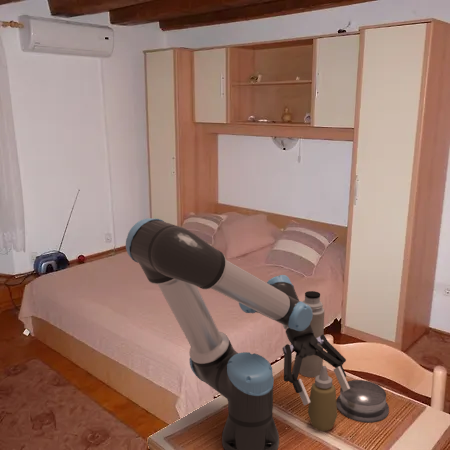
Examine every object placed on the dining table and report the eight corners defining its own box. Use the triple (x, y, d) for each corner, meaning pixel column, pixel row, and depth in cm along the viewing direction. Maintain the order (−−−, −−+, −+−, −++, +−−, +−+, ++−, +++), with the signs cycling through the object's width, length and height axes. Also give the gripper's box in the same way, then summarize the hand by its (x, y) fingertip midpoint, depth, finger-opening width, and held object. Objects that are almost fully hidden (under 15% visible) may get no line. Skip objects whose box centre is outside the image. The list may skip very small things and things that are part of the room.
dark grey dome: (340, 422, 138) (341, 406, 137) (332, 392, 153) (333, 377, 152) (395, 423, 138) (396, 407, 136) (381, 393, 152) (382, 378, 151)
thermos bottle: (299, 364, 170) (301, 287, 164) (322, 366, 168) (325, 289, 162) (297, 375, 163) (299, 296, 156) (321, 378, 161) (324, 298, 154)
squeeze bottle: (337, 435, 133) (339, 376, 129) (306, 432, 134) (308, 373, 130) (336, 417, 140) (339, 360, 136) (308, 414, 142) (309, 358, 138)
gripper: (324, 321, 152) (355, 388, 143) (255, 339, 141) (283, 413, 132) (336, 311, 146) (369, 380, 137) (265, 329, 135) (295, 406, 126)
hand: (327, 397), depth 134 cm, fingers open, 13 cm apart
